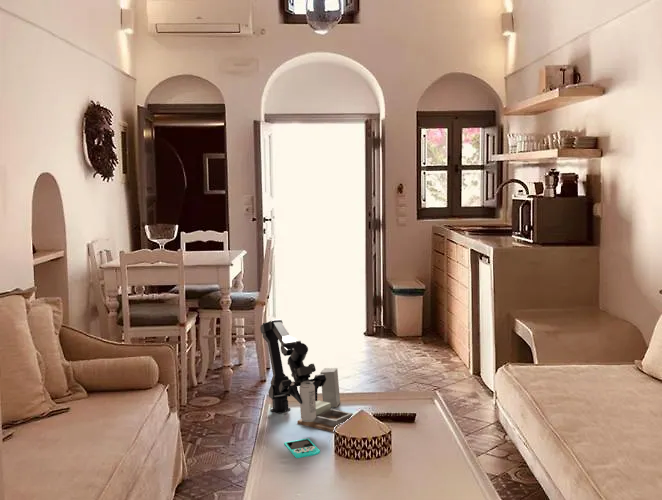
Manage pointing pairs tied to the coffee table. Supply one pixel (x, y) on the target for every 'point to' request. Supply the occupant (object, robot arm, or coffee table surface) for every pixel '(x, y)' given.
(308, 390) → the energy drink can
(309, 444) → the handheld game console
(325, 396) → the skincare box
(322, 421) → the port plate
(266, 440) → the coffee table surface
